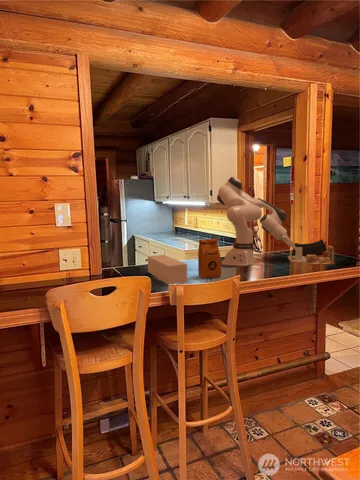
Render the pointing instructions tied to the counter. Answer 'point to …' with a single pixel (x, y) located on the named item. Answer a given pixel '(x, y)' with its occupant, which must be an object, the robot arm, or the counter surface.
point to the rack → (326, 258)
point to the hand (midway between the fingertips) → (295, 248)
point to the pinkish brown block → (167, 269)
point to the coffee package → (209, 259)
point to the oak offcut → (311, 256)
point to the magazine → (311, 248)
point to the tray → (296, 260)
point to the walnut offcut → (311, 260)
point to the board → (298, 253)
